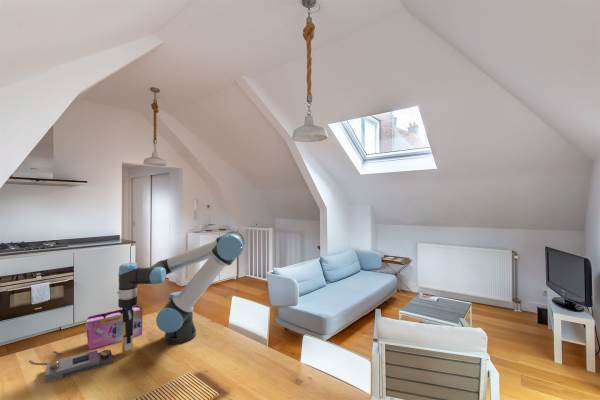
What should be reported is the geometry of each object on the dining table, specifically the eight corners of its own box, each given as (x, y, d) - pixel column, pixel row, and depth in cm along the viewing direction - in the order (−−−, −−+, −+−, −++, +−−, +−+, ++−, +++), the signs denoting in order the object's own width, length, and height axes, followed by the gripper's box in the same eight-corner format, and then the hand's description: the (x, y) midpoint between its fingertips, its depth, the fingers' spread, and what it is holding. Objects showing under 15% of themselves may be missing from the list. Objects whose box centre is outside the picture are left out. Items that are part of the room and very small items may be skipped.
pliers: (51, 350, 132) (83, 356, 126) (51, 351, 132) (83, 358, 126) (26, 361, 122) (60, 369, 117) (26, 363, 122) (60, 371, 117)
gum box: (86, 351, 132) (86, 322, 132) (83, 345, 137) (84, 317, 137) (142, 334, 148) (143, 309, 148) (138, 329, 154) (138, 305, 154)
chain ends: (110, 352, 131) (110, 342, 131) (113, 362, 123) (113, 351, 123) (46, 370, 117) (47, 358, 117) (45, 382, 109) (45, 370, 109)
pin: (131, 349, 133) (131, 320, 133) (133, 353, 130) (133, 323, 130) (121, 352, 131) (122, 322, 131) (122, 356, 128) (123, 325, 128)
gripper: (116, 293, 135) (115, 342, 135) (121, 304, 122) (120, 358, 122) (133, 290, 139) (133, 338, 139) (140, 300, 126) (140, 352, 126)
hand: (127, 347), depth 130 cm, fingers closed on pin, 4 cm apart
